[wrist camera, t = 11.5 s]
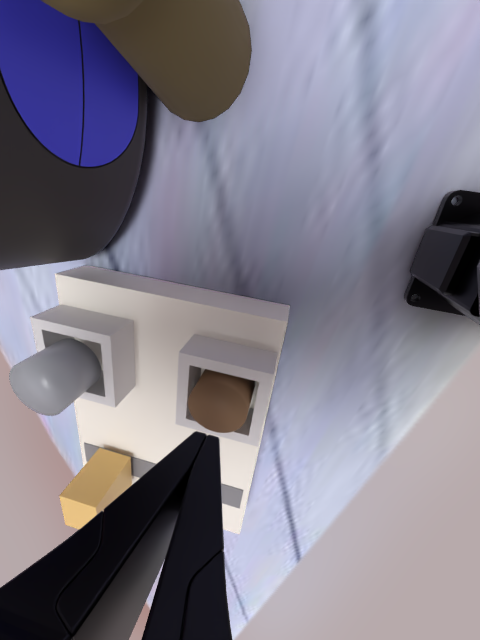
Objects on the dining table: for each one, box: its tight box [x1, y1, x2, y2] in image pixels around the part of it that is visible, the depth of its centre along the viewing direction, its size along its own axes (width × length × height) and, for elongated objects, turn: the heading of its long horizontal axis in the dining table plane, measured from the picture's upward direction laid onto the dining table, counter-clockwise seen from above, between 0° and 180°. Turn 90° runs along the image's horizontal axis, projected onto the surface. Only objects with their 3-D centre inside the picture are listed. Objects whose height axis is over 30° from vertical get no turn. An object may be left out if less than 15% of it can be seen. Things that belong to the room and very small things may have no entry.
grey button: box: [9, 338, 101, 416], centre depth 17 cm, size 4×4×3 cm
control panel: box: [30, 265, 290, 534], centre depth 22 cm, size 16×22×6 cm
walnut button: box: [188, 369, 255, 433], centre depth 17 cm, size 4×4×3 cm
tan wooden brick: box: [60, 448, 132, 529], centre depth 23 cm, size 3×4×4 cm
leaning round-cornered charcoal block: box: [0, 0, 147, 270], centre depth 13 cm, size 16×5×9 cm, turn 162°
